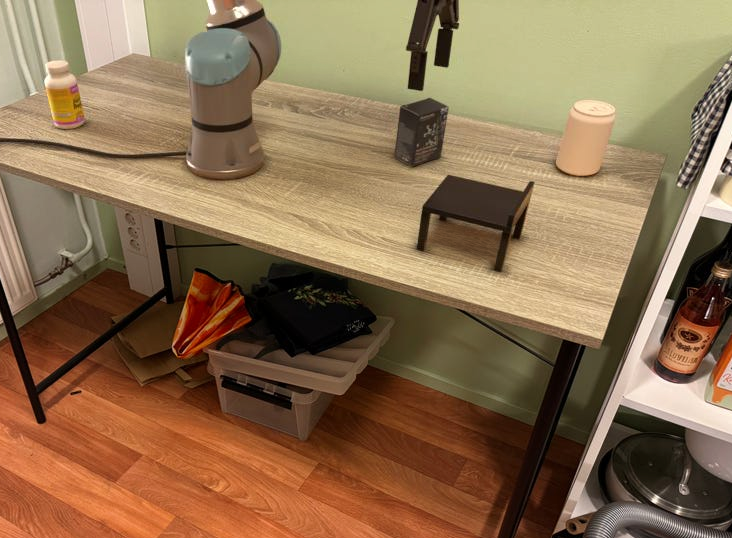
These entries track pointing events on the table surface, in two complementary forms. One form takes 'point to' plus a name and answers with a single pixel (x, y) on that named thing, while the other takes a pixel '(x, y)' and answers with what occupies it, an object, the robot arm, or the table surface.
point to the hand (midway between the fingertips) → (428, 77)
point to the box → (420, 131)
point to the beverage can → (585, 137)
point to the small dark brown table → (478, 209)
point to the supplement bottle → (63, 96)
